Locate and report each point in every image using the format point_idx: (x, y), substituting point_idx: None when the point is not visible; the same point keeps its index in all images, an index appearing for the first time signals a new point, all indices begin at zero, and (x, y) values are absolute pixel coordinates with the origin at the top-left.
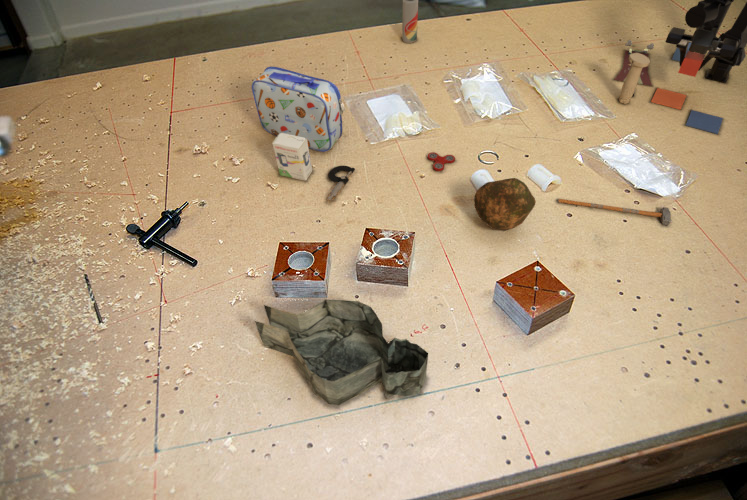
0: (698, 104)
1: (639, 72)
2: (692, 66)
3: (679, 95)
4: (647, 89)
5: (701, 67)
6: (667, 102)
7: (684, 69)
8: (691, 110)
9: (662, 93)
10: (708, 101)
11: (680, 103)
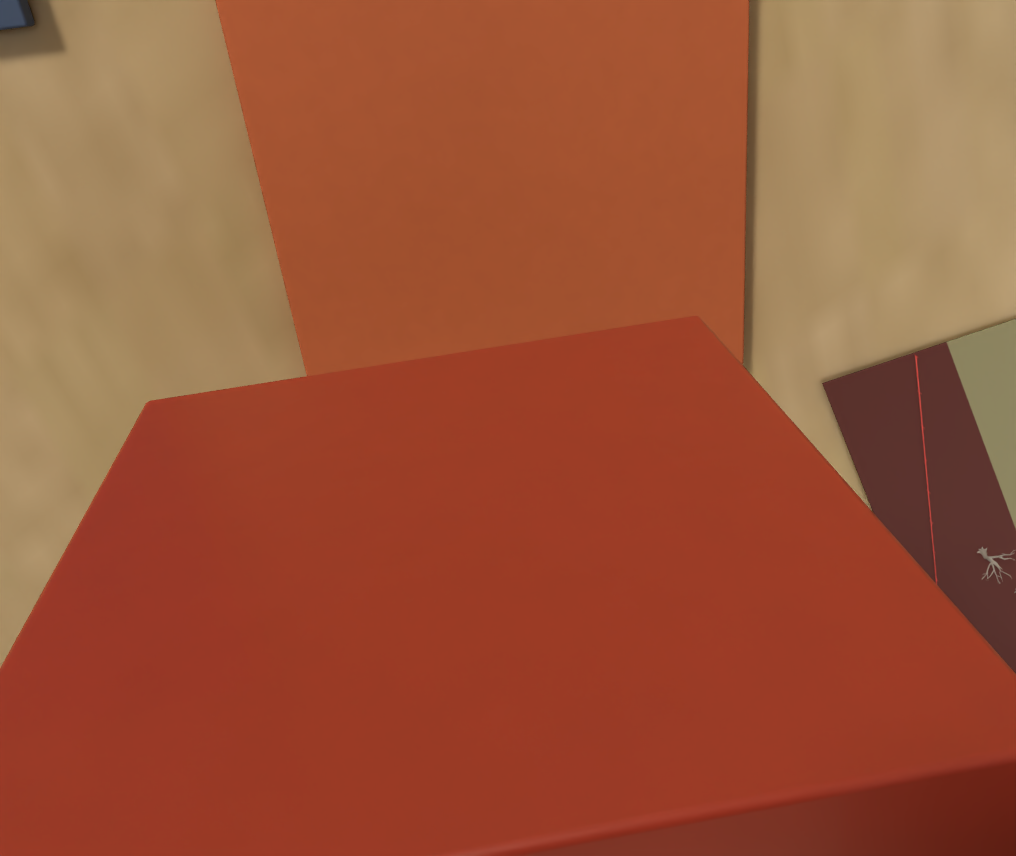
0: (64, 319)
1: None
2: (355, 561)
3: (401, 356)
4: (861, 255)
5: None
6: (484, 9)
7: (587, 406)
8: (21, 6)
9: (641, 253)
10: (3, 486)
11: (287, 123)
